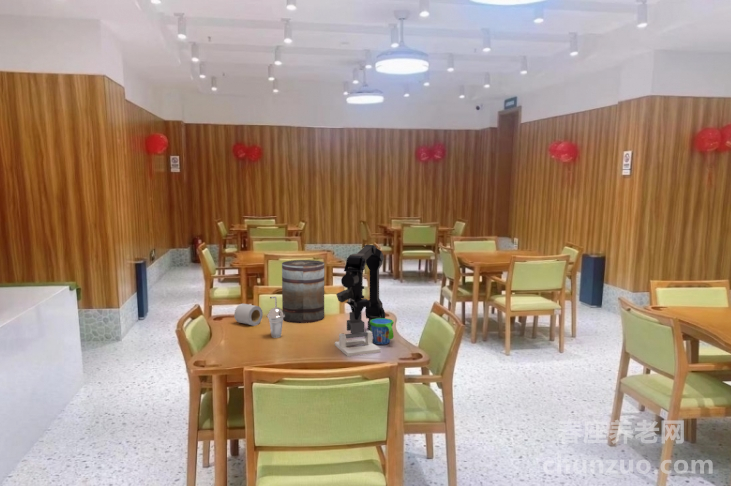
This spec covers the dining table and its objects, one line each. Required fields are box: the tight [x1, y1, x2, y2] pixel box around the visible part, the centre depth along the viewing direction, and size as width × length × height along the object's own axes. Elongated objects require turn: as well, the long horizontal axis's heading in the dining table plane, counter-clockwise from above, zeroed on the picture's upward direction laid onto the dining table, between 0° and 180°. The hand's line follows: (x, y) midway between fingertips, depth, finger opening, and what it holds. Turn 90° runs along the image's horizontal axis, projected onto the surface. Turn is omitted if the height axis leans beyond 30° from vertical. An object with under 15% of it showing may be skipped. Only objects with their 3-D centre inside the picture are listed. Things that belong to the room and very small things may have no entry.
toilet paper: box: [233, 303, 263, 327], centre depth 254 cm, size 10×10×10 cm
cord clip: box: [346, 311, 365, 334], centre depth 217 cm, size 6×6×8 cm
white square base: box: [334, 330, 382, 357], centre depth 216 cm, size 15×16×6 cm
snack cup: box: [370, 317, 394, 345], centre depth 225 cm, size 16×10×10 cm
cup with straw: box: [266, 296, 285, 339], centre depth 232 cm, size 8×9×20 cm
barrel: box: [281, 259, 325, 324], centre depth 266 cm, size 22×22×30 cm
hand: (355, 318), depth 217 cm, fingers closed on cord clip
